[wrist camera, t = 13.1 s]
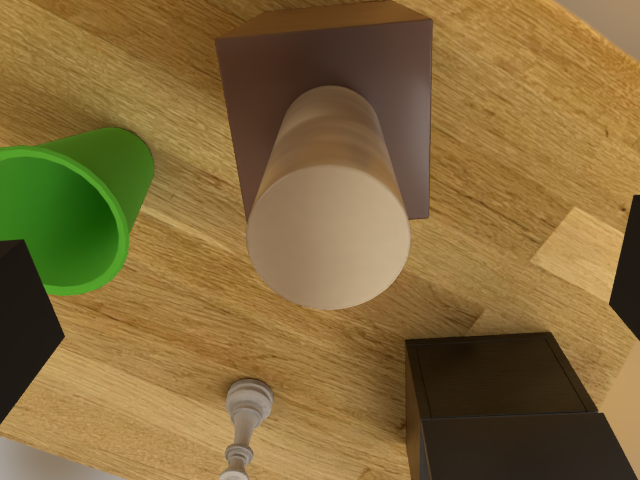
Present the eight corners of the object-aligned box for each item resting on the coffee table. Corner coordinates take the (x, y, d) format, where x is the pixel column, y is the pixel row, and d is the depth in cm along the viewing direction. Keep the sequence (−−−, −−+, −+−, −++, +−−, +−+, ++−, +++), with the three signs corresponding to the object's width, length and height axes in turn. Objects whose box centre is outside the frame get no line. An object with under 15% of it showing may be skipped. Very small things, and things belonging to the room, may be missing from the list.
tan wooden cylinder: (378, 80, 19) (411, 158, 11) (381, 179, 21) (411, 306, 13) (274, 89, 19) (232, 172, 11) (287, 186, 21) (258, 315, 13)
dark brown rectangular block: (390, -1, 31) (433, 18, 18) (393, 125, 35) (429, 218, 21) (264, 11, 31) (214, 38, 18) (280, 134, 35) (247, 231, 22)
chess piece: (218, 390, 47) (191, 485, 38) (254, 371, 46) (235, 465, 37) (247, 417, 49) (228, 515, 40) (282, 399, 48) (271, 496, 39)
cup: (86, 71, 33) (-14, 111, 24) (203, 147, 36) (155, 211, 26) (40, 173, 37) (-64, 243, 27) (149, 236, 39) (89, 322, 30)
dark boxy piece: (533, 439, 49) (570, 526, 42) (405, 444, 50) (419, 530, 42) (551, 331, 43) (599, 410, 35) (404, 339, 44) (420, 418, 36)
